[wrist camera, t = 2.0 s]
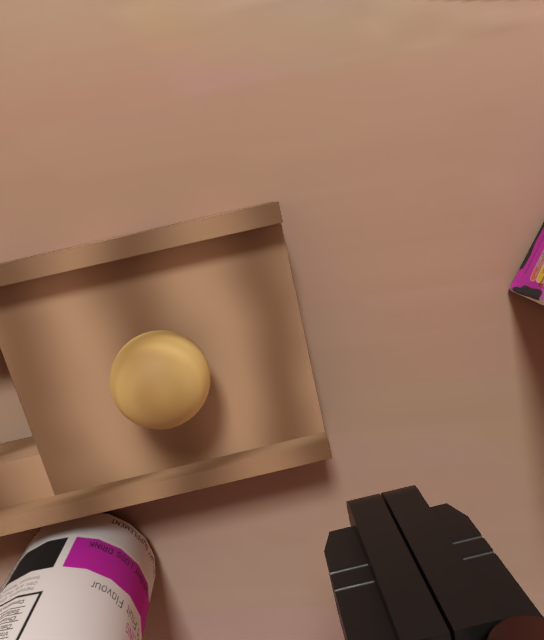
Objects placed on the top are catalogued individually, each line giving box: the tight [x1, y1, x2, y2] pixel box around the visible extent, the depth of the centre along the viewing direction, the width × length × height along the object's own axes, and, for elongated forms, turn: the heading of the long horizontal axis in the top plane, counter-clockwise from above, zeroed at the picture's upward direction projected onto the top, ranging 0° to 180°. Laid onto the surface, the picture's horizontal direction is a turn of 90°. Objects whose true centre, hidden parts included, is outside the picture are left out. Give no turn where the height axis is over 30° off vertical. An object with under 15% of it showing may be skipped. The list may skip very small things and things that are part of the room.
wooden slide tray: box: [0, 202, 332, 536], centre depth 27 cm, size 26×14×4 cm, turn 103°
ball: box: [109, 330, 211, 429], centre depth 24 cm, size 5×5×5 cm
